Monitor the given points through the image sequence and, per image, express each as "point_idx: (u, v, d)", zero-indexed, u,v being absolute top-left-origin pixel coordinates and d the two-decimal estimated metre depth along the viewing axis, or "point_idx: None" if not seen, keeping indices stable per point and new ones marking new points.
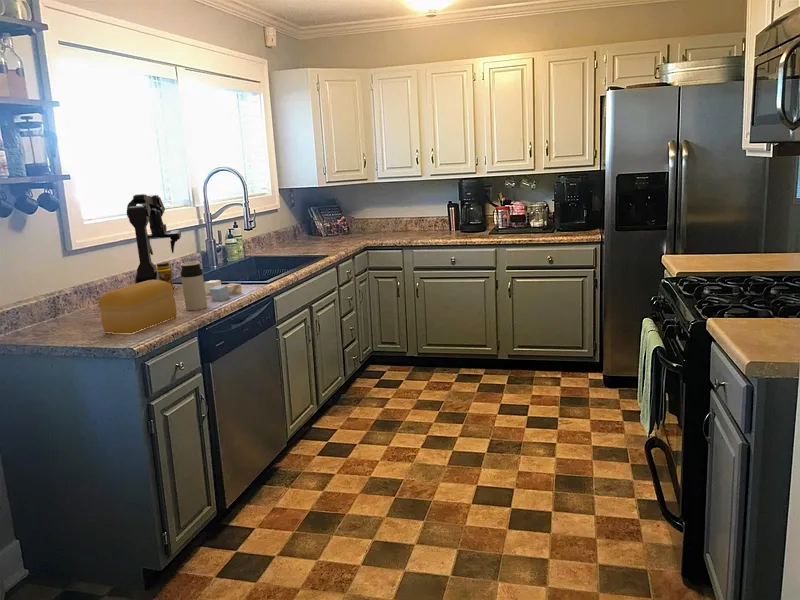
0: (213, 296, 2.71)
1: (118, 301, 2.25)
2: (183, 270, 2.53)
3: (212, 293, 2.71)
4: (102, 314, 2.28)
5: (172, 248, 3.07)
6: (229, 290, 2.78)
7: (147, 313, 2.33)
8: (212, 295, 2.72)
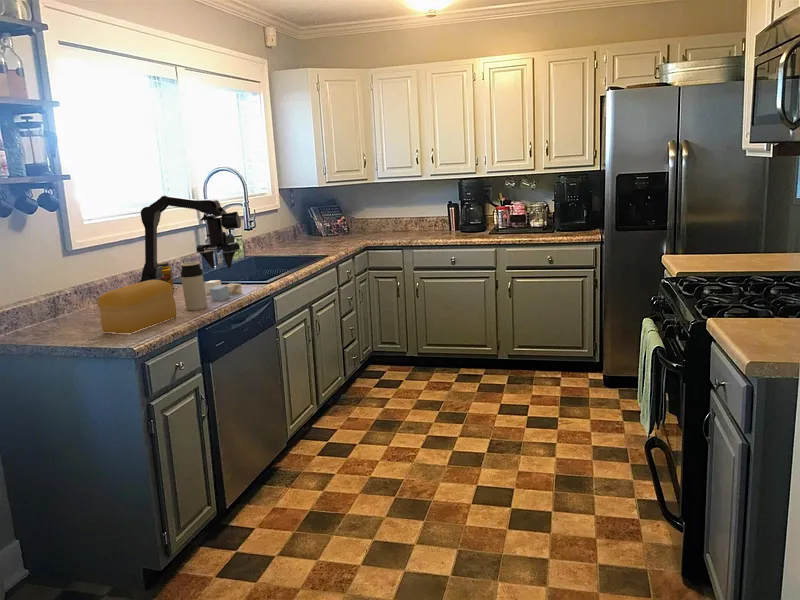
0: (213, 296, 2.72)
1: (117, 301, 2.25)
2: (183, 270, 2.53)
3: (212, 293, 2.71)
4: (101, 314, 2.29)
5: (226, 262, 2.70)
6: (229, 290, 2.78)
7: (146, 313, 2.33)
8: (212, 295, 2.72)
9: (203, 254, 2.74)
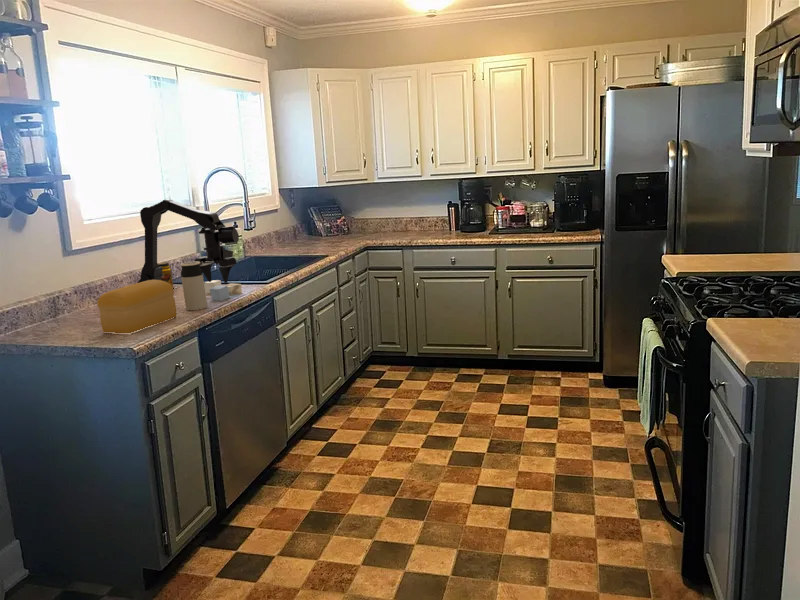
0: (213, 296, 2.72)
1: (116, 301, 2.25)
2: (183, 270, 2.53)
3: (212, 293, 2.71)
4: (101, 314, 2.29)
5: (223, 276, 2.67)
6: (229, 290, 2.78)
7: (146, 313, 2.33)
8: (212, 295, 2.72)
9: (200, 267, 2.71)
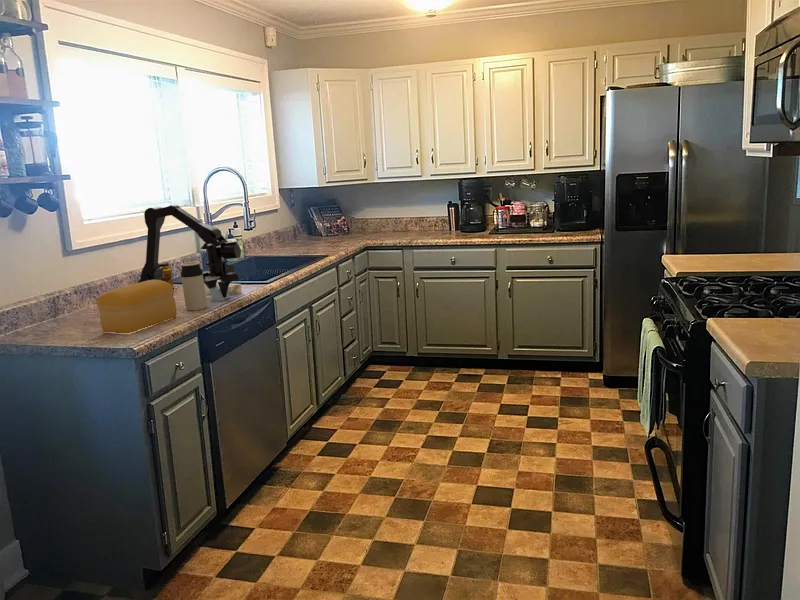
0: (213, 296, 2.72)
1: (116, 301, 2.25)
2: (183, 270, 2.53)
3: (212, 293, 2.71)
4: (101, 314, 2.29)
5: (222, 291, 2.70)
6: (229, 290, 2.78)
7: (145, 313, 2.33)
8: (212, 295, 2.72)
9: (206, 283, 2.71)
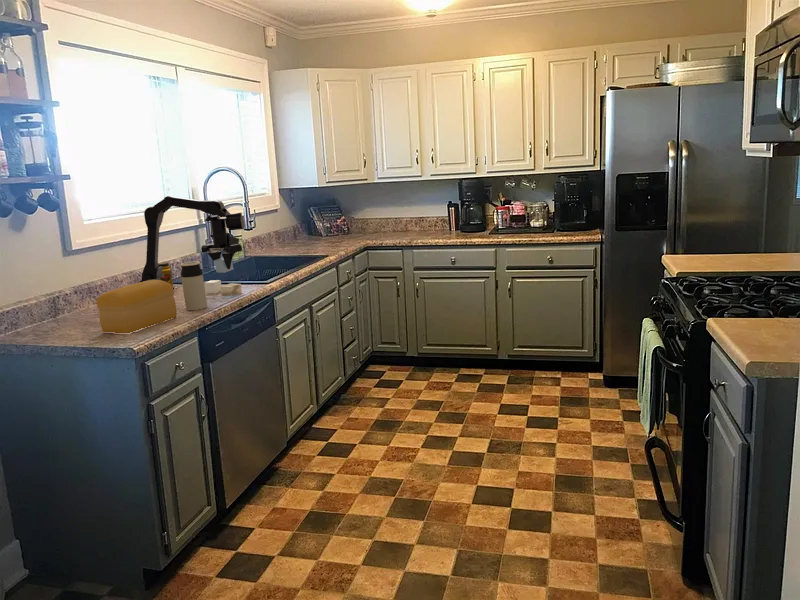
0: (217, 268, 2.75)
1: (115, 301, 2.25)
2: (183, 270, 2.53)
3: (216, 265, 2.74)
4: (100, 314, 2.29)
5: (226, 263, 2.73)
6: (229, 290, 2.78)
7: (145, 313, 2.33)
8: (216, 267, 2.75)
9: (210, 254, 2.75)
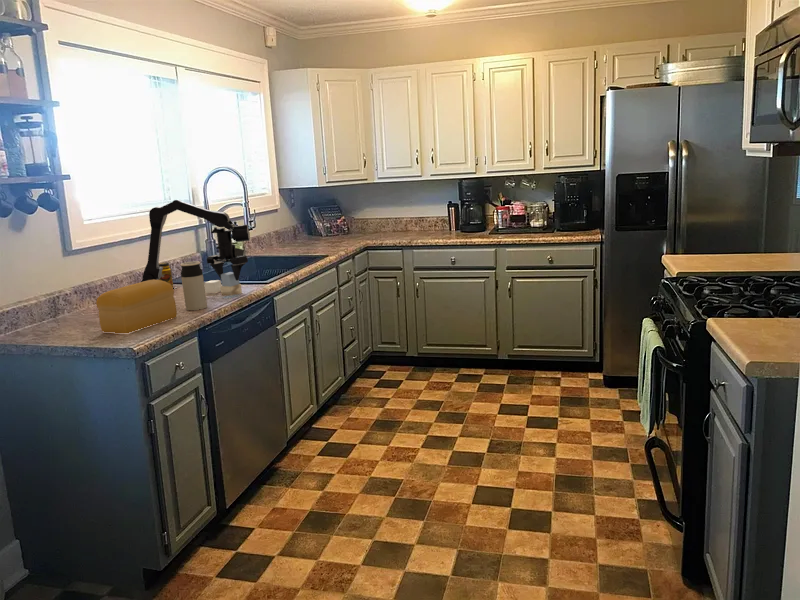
0: (223, 281, 2.80)
1: (114, 301, 2.25)
2: (183, 270, 2.53)
3: (223, 278, 2.80)
4: (100, 313, 2.29)
5: (234, 274, 2.76)
6: (229, 290, 2.78)
7: (144, 313, 2.33)
8: (223, 280, 2.80)
9: (213, 265, 2.80)
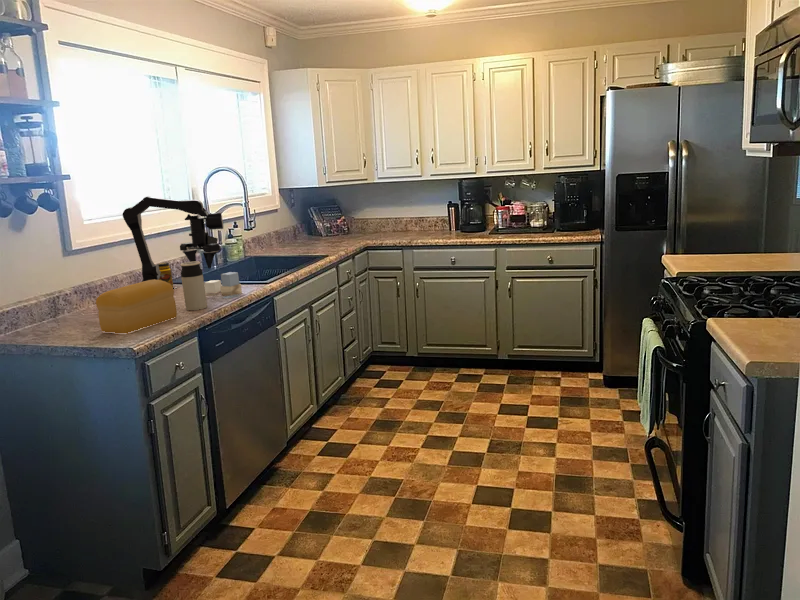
0: (223, 281, 2.80)
1: (113, 301, 2.25)
2: (183, 270, 2.53)
3: (223, 278, 2.80)
4: (99, 313, 2.30)
5: (207, 262, 2.75)
6: (229, 290, 2.78)
7: (143, 314, 2.33)
8: (223, 280, 2.80)
9: (185, 253, 2.80)
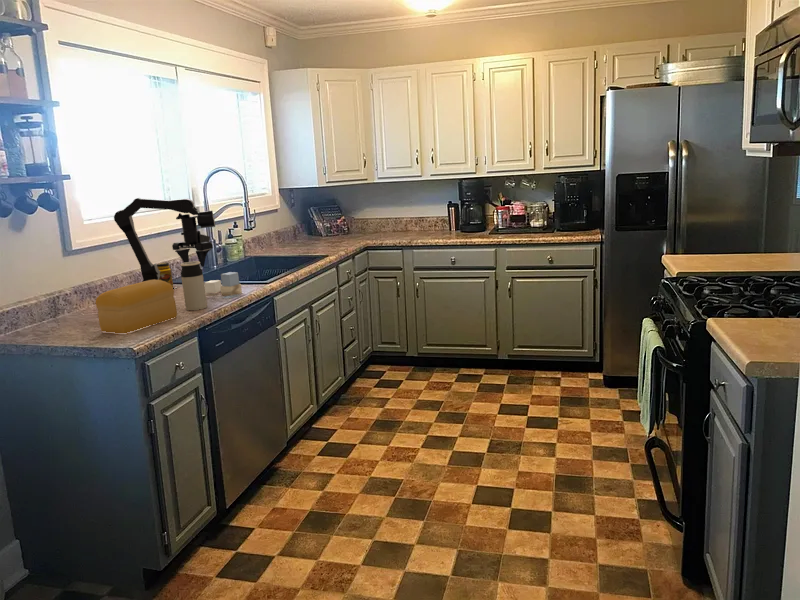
0: (223, 281, 2.80)
1: (112, 301, 2.25)
2: (183, 270, 2.53)
3: (223, 278, 2.80)
4: (99, 313, 2.30)
5: (199, 260, 2.76)
6: (229, 290, 2.78)
7: (143, 314, 2.33)
8: (223, 280, 2.80)
9: (178, 252, 2.80)
